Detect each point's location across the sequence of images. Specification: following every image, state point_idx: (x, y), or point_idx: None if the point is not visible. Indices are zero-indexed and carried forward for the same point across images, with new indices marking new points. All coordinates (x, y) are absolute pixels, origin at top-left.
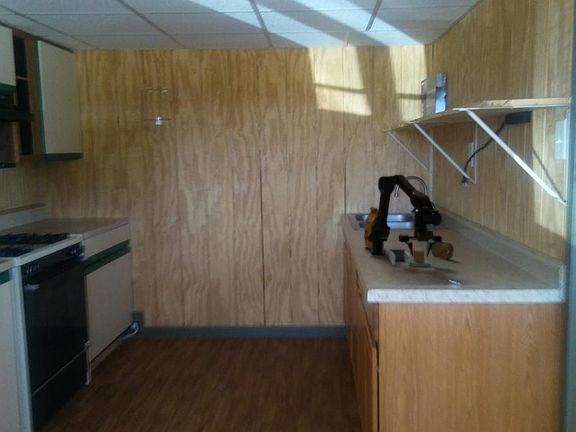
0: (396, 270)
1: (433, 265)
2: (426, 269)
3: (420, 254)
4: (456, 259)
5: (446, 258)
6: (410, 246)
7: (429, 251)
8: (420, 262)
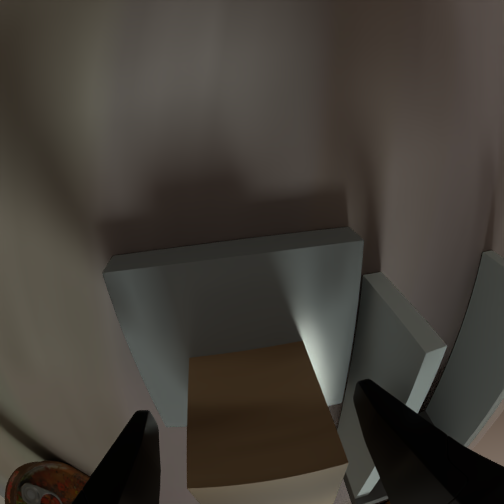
0: (501, 30)
1: (83, 307)
2: (177, 39)
3: (251, 434)
4: (17, 453)
5: (51, 461)
6: (487, 479)
7: (97, 475)
8: (239, 327)
